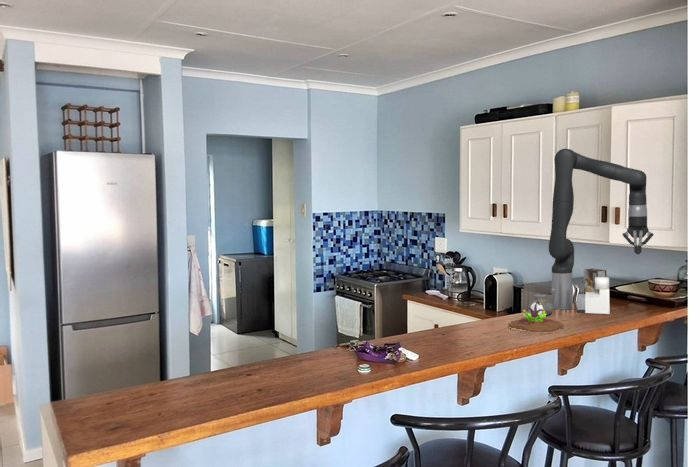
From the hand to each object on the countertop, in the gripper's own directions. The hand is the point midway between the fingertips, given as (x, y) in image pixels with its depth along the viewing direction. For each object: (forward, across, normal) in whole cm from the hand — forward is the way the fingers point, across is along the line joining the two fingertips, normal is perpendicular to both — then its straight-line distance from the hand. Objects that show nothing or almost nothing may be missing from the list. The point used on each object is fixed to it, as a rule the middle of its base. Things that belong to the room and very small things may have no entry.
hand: (637, 254), depth 255 cm
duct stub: (+26, -21, -3) cm, 34 cm away
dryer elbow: (+26, -17, -3) cm, 31 cm away
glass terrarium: (+27, -39, -18) cm, 50 cm away
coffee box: (+27, -19, +23) cm, 40 cm away
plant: (+27, -38, -41) cm, 62 cm away
